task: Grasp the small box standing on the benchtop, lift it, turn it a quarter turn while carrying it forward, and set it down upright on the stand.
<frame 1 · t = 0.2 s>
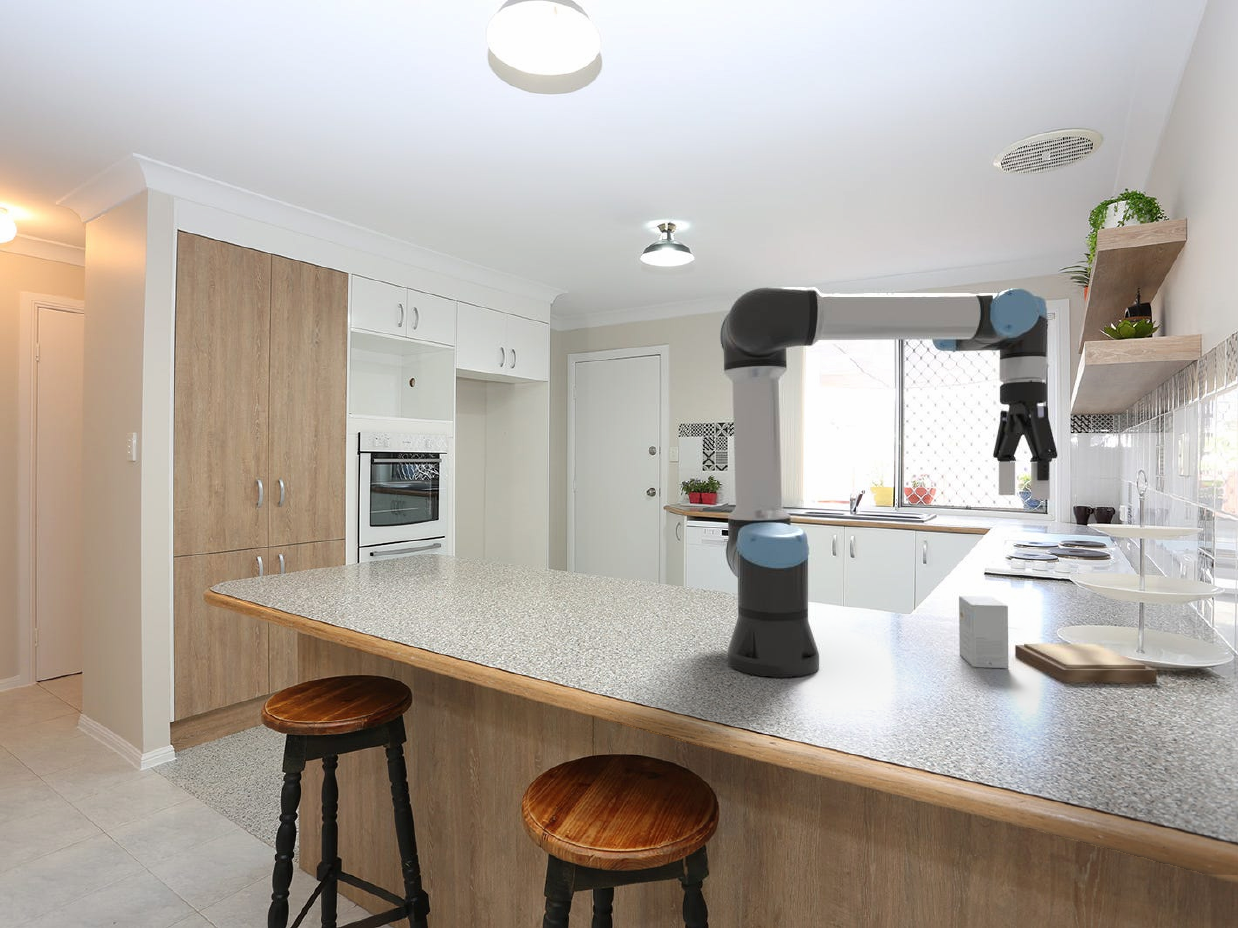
hand: (1022, 497, 129), 27 cm above the table, fingers open, 13 cm apart
stand: (1081, 668, 114), on the table
small box: (982, 662, 119), on the table
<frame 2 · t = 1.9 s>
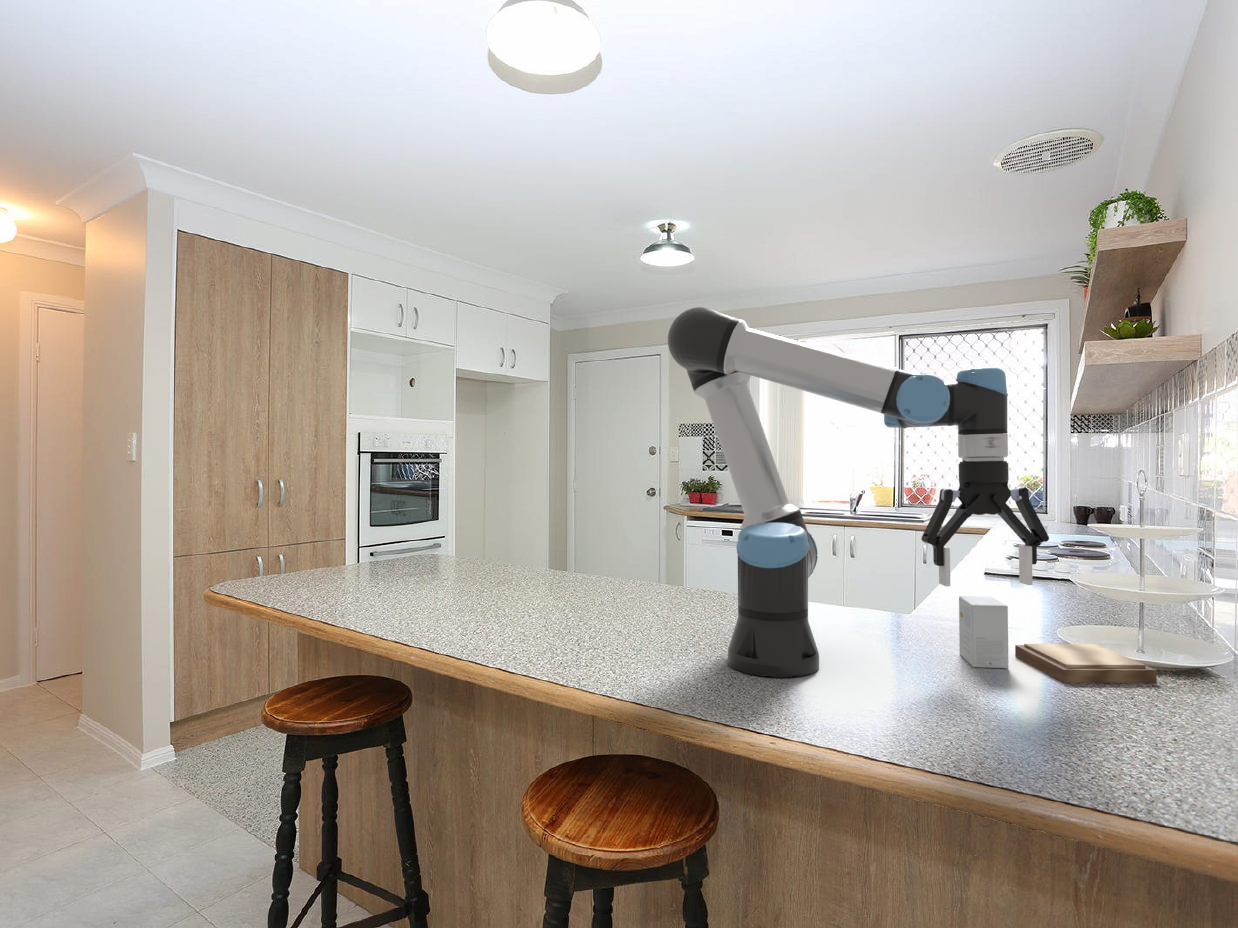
hand: (985, 584, 118), 13 cm above the table, fingers open, 13 cm apart
nothing on the table moved.
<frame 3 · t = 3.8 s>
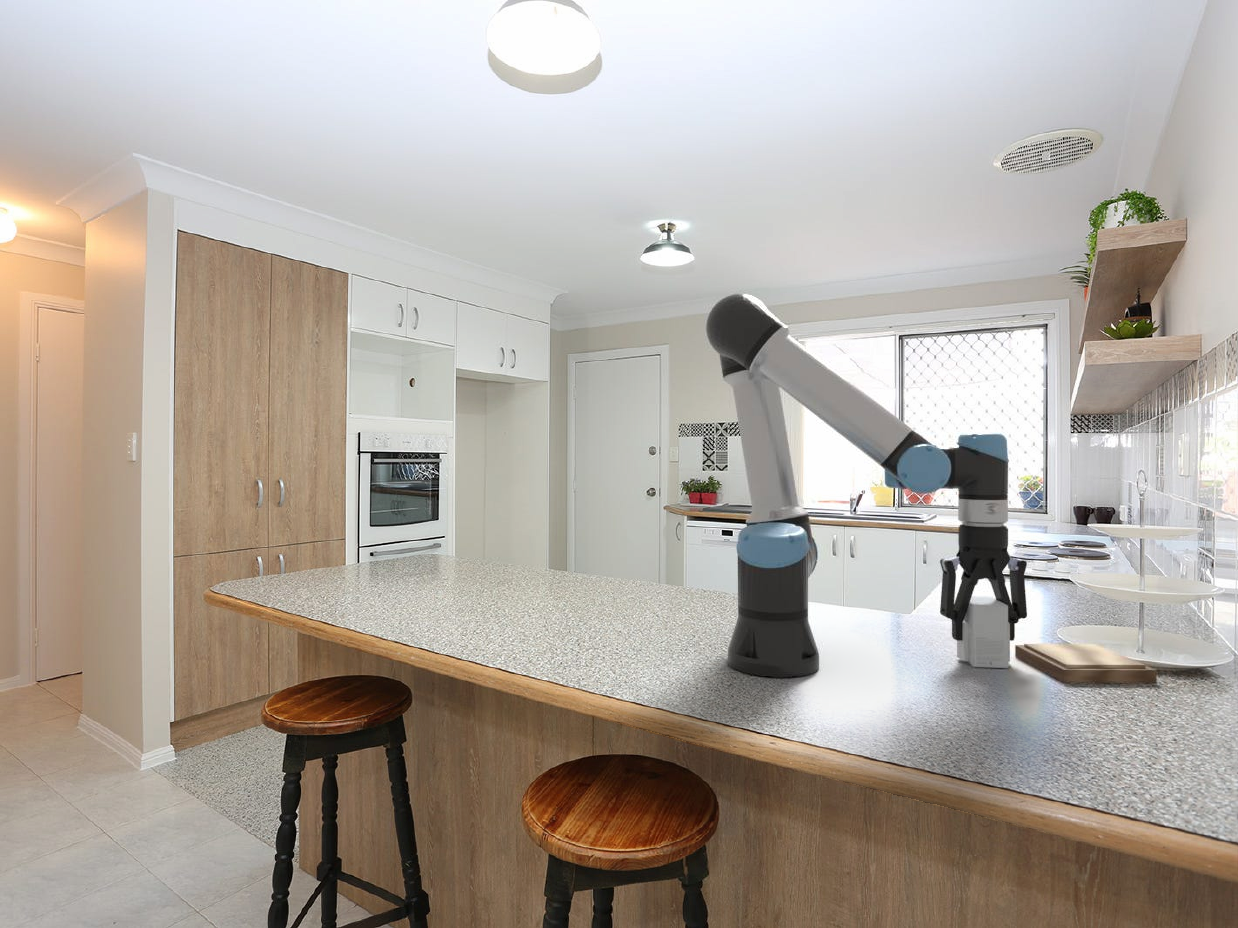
hand: (983, 658, 119), 0 cm above the table, fingers closed on small box, 6 cm apart
small box: (983, 662, 119), on the table, touching gripper
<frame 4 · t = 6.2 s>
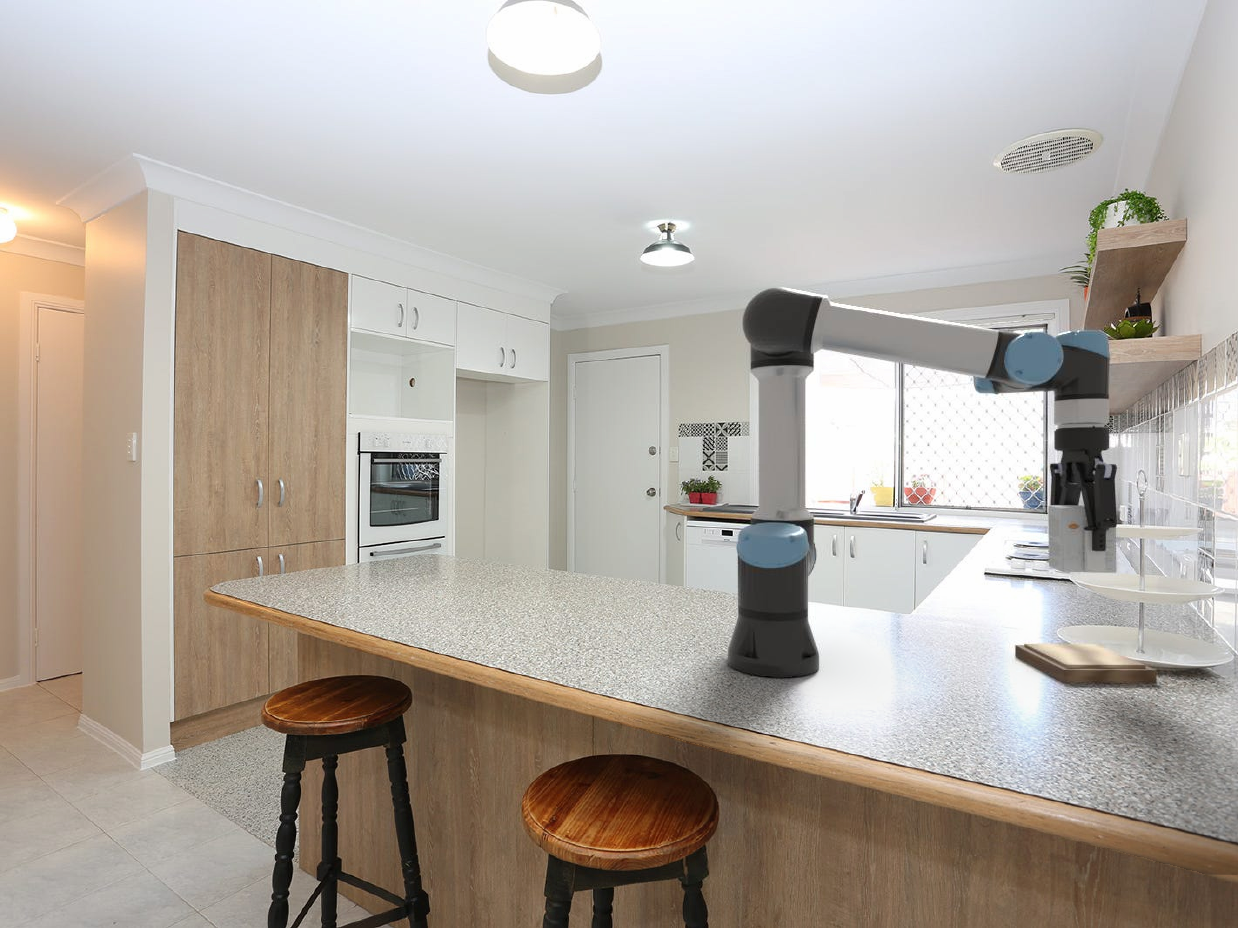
hand: (1081, 567, 114), 17 cm above the table, fingers closed on small box, 6 cm apart
small box: (1081, 571, 114), point 16 cm above the table, touching gripper
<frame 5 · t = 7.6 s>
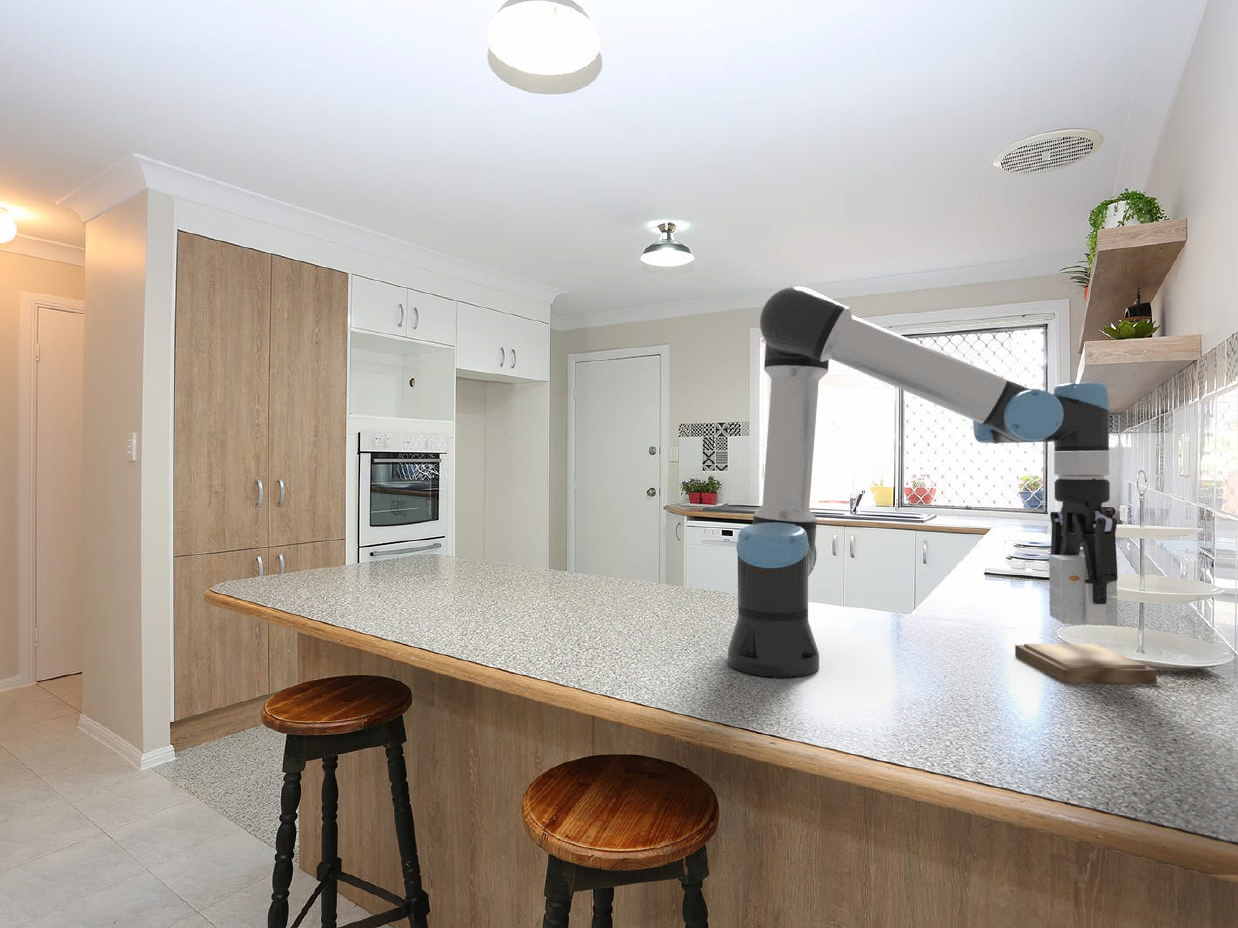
hand: (1082, 618, 114), 8 cm above the table, fingers closed on small box, 6 cm apart
small box: (1082, 622, 114), point 8 cm above the table, touching gripper
when the fingers open (4 cm above the table, at t = 8.8 s): small box stays where it is, resting on stand.
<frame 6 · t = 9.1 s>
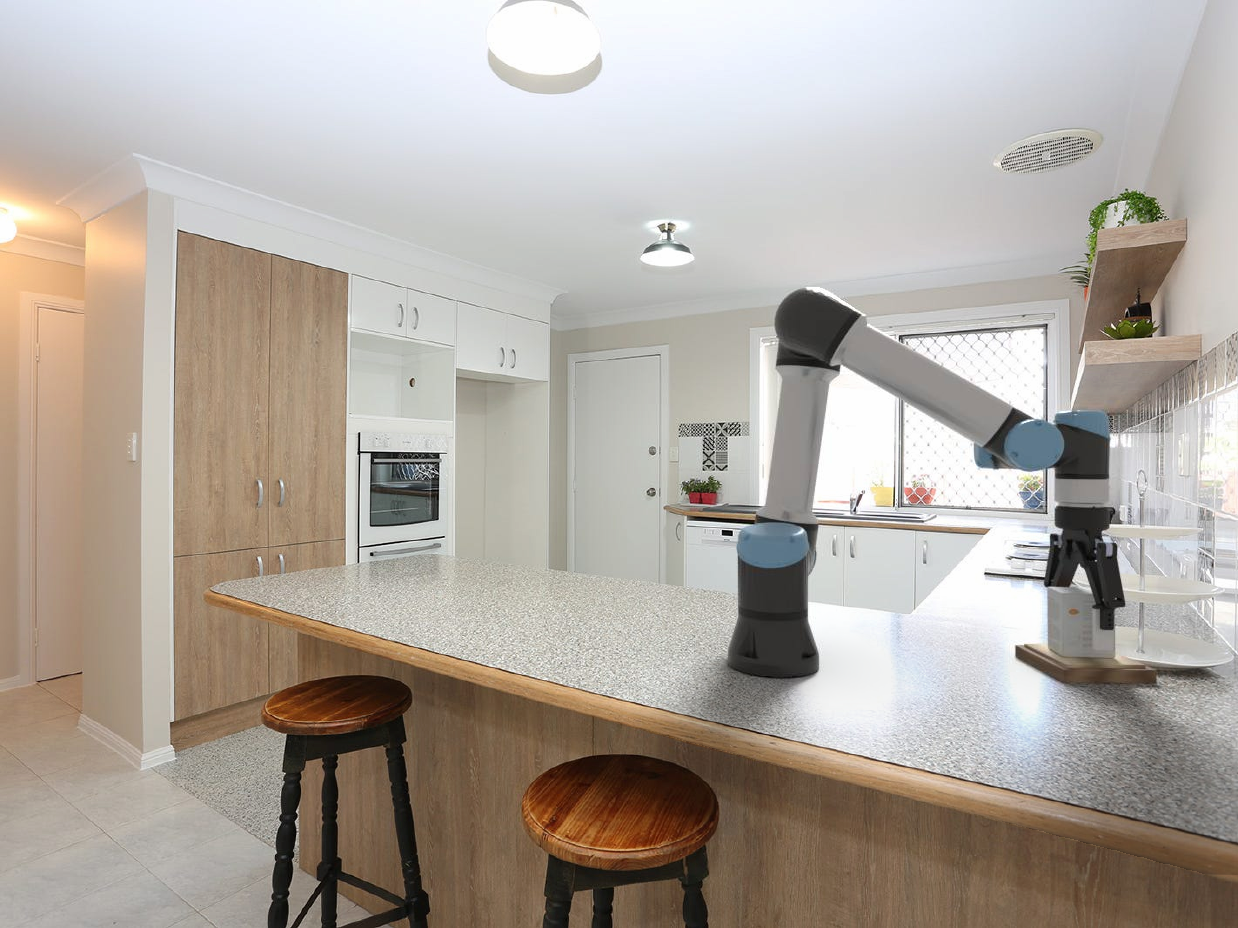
hand: (1081, 640, 114), 5 cm above the table, fingers open, 10 cm apart
small box: (1080, 654, 114), point 2 cm above the table, touching stand
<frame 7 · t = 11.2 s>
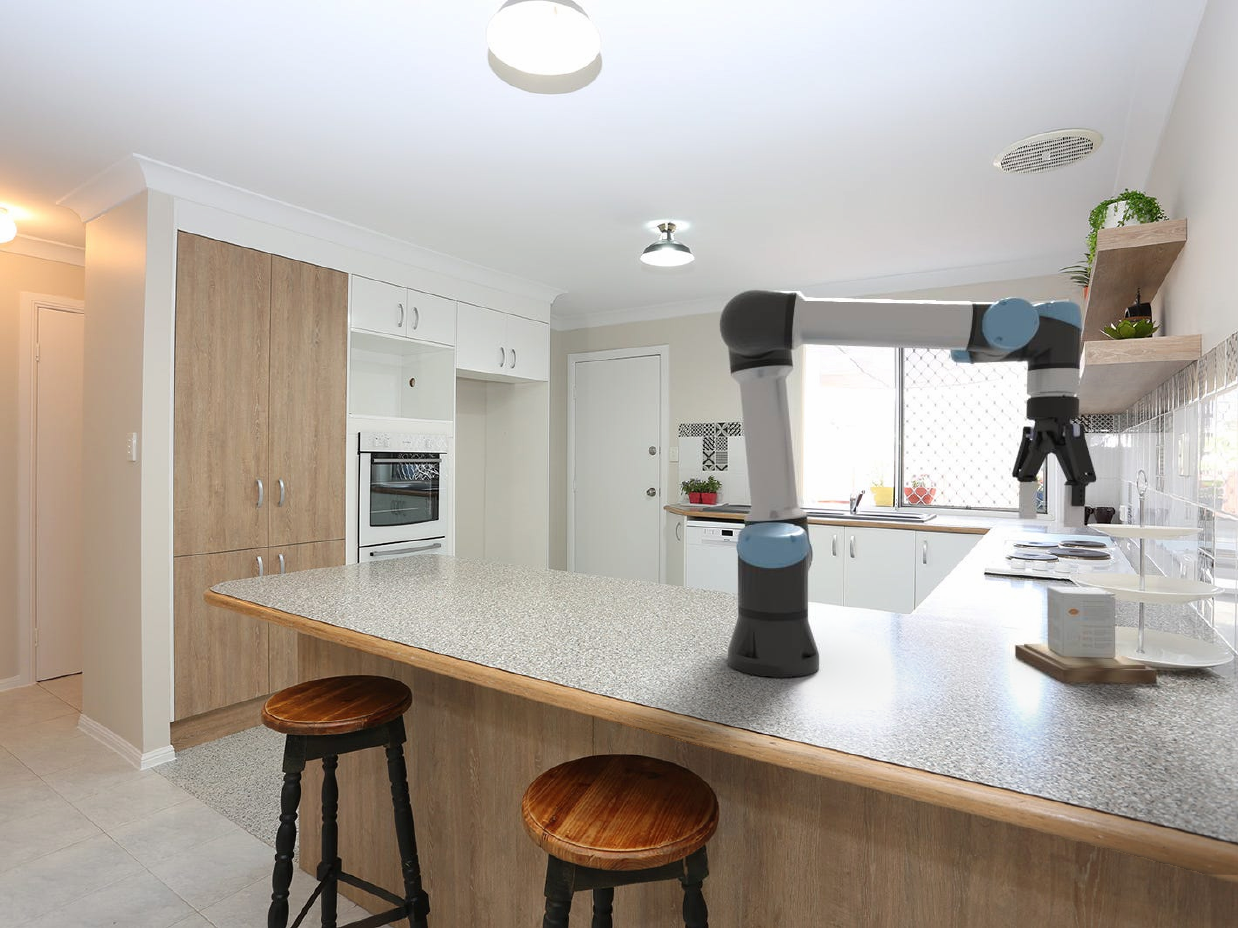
hand: (1049, 522, 117), 24 cm above the table, fingers open, 13 cm apart
nothing on the table moved.
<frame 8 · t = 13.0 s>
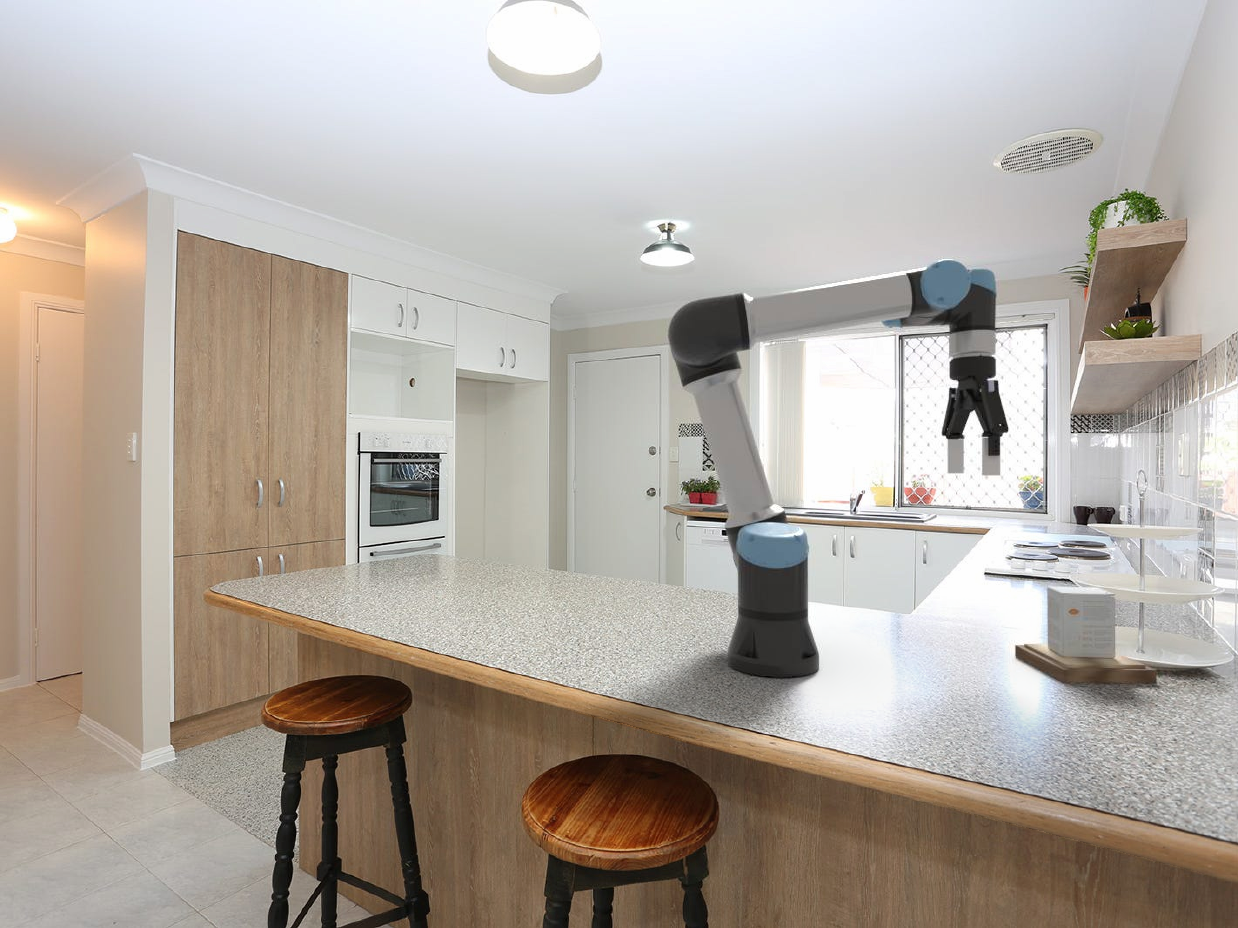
hand: (972, 474, 126), 32 cm above the table, fingers open, 13 cm apart
nothing on the table moved.
at the end: small box inside the target area on the stand (0.2 cm from its centre), point 2.3 cm above the stand's base; small box tilted 0°; the gripper is holding nothing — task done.
